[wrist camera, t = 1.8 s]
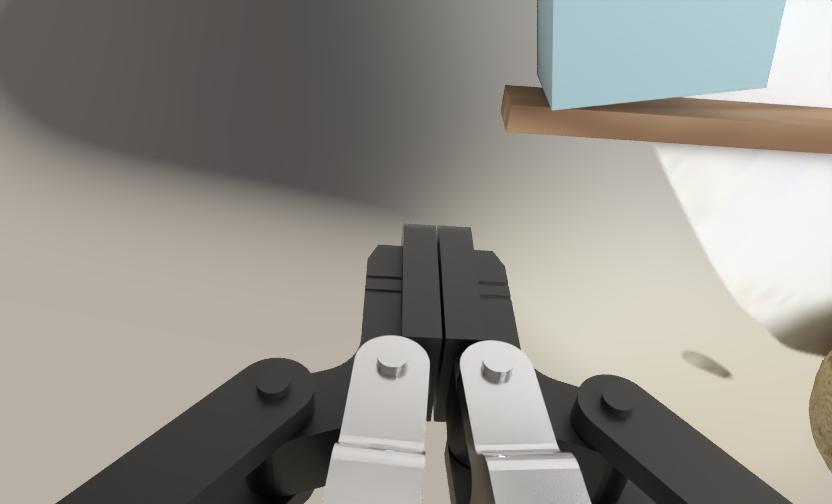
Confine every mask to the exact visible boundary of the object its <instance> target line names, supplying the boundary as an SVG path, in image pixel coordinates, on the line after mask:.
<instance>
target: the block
mask: <svg viewBox="0 0 832 504" xmlns="http://www.w3.org/2000/svg"><path fill="white" fill-rule="evenodd" d="M785 2H786V0H537V75H538V78H539V80H540V83H541V85H542V88H543V90H544V92H545V95H546V97H547V100H548V102H549V105H550V107H551V110H562V109H571V108H580V107H590V106H599V105H608V104H618V103H627V102H636V101H646V100H655V99H664V98H674V97H683V96H692V95H702V94H711V93H720V92H730V91H739V90H748V89H758V88H766V87H767V82H768V78H769V73H770V69H771V64H772V60H773V56H774V51H775V47H776V42H777V38H778V33H779V29H780V24H781V20H782V15H783V11H784V7H785Z"/></svg>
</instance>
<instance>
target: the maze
mask: <svg viewBox="0 0 832 504" xmlns="http://www.w3.org/2000/svg"><path fill="white" fill-rule="evenodd" d="M501 114H502V117H503V121H504V124H505V129H506V132H516V133H532V134H546V135H561V136H576V137H590V138H605V139H606V138H607V139H620V140H635V141H650V142H665V143H679V144H694V145H709V146H724V147H739V148H754V149H768V150H783V151H798V152H813V153H828V154H832V108H819V107H805V106H791V105H777V104H763V103H749V102H735V101H721V100H707V99H693V98H679V97H674V98H664V99H655V100H646V101H636V102H627V103H618V104H608V105H599V106H590V107H580V108H571V109H562V110H551V107H550V105H549V102H548V100H547V97H546V95H545V92H544V90H543V88H538V87H524V86H510V85H505V89H504V95H503V101H502V107H501Z"/></svg>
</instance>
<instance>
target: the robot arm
mask: <svg viewBox="0 0 832 504" xmlns="http://www.w3.org/2000/svg"><path fill="white" fill-rule="evenodd" d="M432 408H433V410H434V421H438V422H446V424H447V442H446V448H445V453H444V455H445V465H446V471H447V479H448V486H449V494H450V501H451V504H792V503H791V502H790V501H789V500H787V499H786V498H785V497H783V496H782V495H781V494H780V493H778V492H777V491H776V490H774V489H773V488H772V487H770V486H769V485H768V484H766V483H765V482H764V481H762V480H761V479H760V478H758V477H757V476H756V475H755V474H753V473H752V472H751V471H749V470H748V469H747V468H745V467H744V466H743V465H742V464H740V463H739V462H738V461H736V460H735V459H733V458H732V457H731V456H730V455H728V454H727V453H726V452H725V451H723V450H722V449H721V448H719V447H718V446H717V445H715V444H714V443H713V442H711V441H710V440H709V439H708V438H706V437H705V436H704V435H702V434H701V433H700V432H698V431H697V430H696V429H694V428H693V427H692V426H690V425H689V424H688V423H687V422H685V421H684V420H683V419H681V418H680V417H679V416H677V415H676V414H675V413H674V412H672V411H671V410H669V409H668V408H667V407H666V406H664V405H663V404H662V403H660V402H659V401H658V400H656V399H655V398H654V397H652V396H651V395H650V394H649V393H647V392H646V391H645V390H643V389H642V388H641V387H639V386H638V385H637V384H635V383H633V382H631V381H630V380H627V379H625V378H622V377H619V376H615V375H596V376H593V377H590V378H588V379H587V380H585V381H584V382H583V383H582V384H581V386H580V387H577V386H573V385H570V384H567V383H564V382H560V381H557V380H554V379H552V378H549V377H547V376H545V375H543V374H542V373H540V372H538V371H537V370H536V369H534V367H533V365H532V362H531V361H530V359H529V358H528V357H527V355H526V354H525V353H524V352H523V351H521V348H520V343H519V338H518V334H517V328H516V322H515V317H514V312H513V307H512V301H511V299H510V291H509V287H508V280H507V276H506V270H505V266H504V265H503V264H502V262H501V261H500V260H499V259H498V257H497V256H496V255H495V253H494V252H493V251H481V250H474V248H473V241H472V233H471V228H469V227H453V226H438V227H437V231H436V226H434V225H417V224H403V230H402V242H401V246H391V245H378V246H377V248H376V249H375V250H374V251H373V253H372V254H371V255H370V257H369V258H368V262H367V276H366V286H365V299H364V311H363V323H362V336H361V343H360V346H359V349H358V350H357V352H356V353H355V354H354V355H353V357H352V358H350V359H349V360H348V361H347V362H345V363H343V364H342V365H340V366H337V367H335V368H332V369H329V370H324V371H320V372H315V373H310V372H309V371H308V369H307V368H306V367H304V366H303V365H302V364H300V363H298V362H296V361H293V360H290V359H285V358H269V359H264V360H261V361H258V362H256V363H253V364H252V365H250V366H248V367H247V368H245V369H244V370H242V371H241V372H239V373H238V374H237V375H235V376H234V377H232V378H231V379H230V380H228V381H227V382H226V383H224V384H223V385H221V386H220V387H218V388H217V389H216V390H214V391H213V392H212V393H210V394H209V395H207V396H206V397H205V398H203V399H202V400H200V401H199V402H198V403H196V404H195V405H193V406H192V407H190V408H189V409H188V410H186V411H185V412H183V413H182V414H181V415H179V416H178V417H177V418H175V419H174V420H172V421H171V422H169V423H168V424H167V425H165V426H164V427H162V428H161V429H160V430H158V431H157V432H155V433H154V434H153V435H151V436H150V437H148V438H147V439H146V440H144V441H143V442H141V443H140V444H139V445H137V446H136V447H134V448H133V449H132V450H130V451H129V452H127V453H126V454H125V455H123V456H122V457H120V458H119V459H118V460H116V461H115V462H113V463H112V464H111V465H109V466H108V467H106V468H105V469H104V470H102V471H101V472H99V473H98V474H97V475H95V476H94V477H92V478H91V479H90V480H88V481H87V482H85V483H84V484H83V485H81V486H80V487H79V488H77V489H76V490H74V491H73V492H71V493H70V494H69V495H67V496H66V497H64V498H63V499H62V500H60V501H59V502H57V503H56V504H304V503H305V502H306V501H307V500H308V499H309V497H310V496H311V494H312V493H313V491H314V489H316V488H320V487H323V486H325V490H324V495H323V500H322V504H423V488H424V471H425V451H424V447H425V431H426V421H430V420H431V413H432Z"/></svg>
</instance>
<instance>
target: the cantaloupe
mask: <svg viewBox="0 0 832 504" xmlns="http://www.w3.org/2000/svg"><path fill="white" fill-rule="evenodd" d="M809 414H810V423H811V429H812V434H813V438H814V440H815V443H816V446H817V448H818V450H819V452H820V454H821V455H822V457H823V459H824V461H825V463H826V464H827V467H828V468H829V470H830V471H831V472H832V349H831V351H830V352H829V353H828V355H827V356H826V357H825V359H824V360H823V361H822V363H821V366H820V369H819V371H818V373H817V375H816V378H815V382H814V386H813V390H812V393H811V397H810V403H809Z"/></svg>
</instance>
